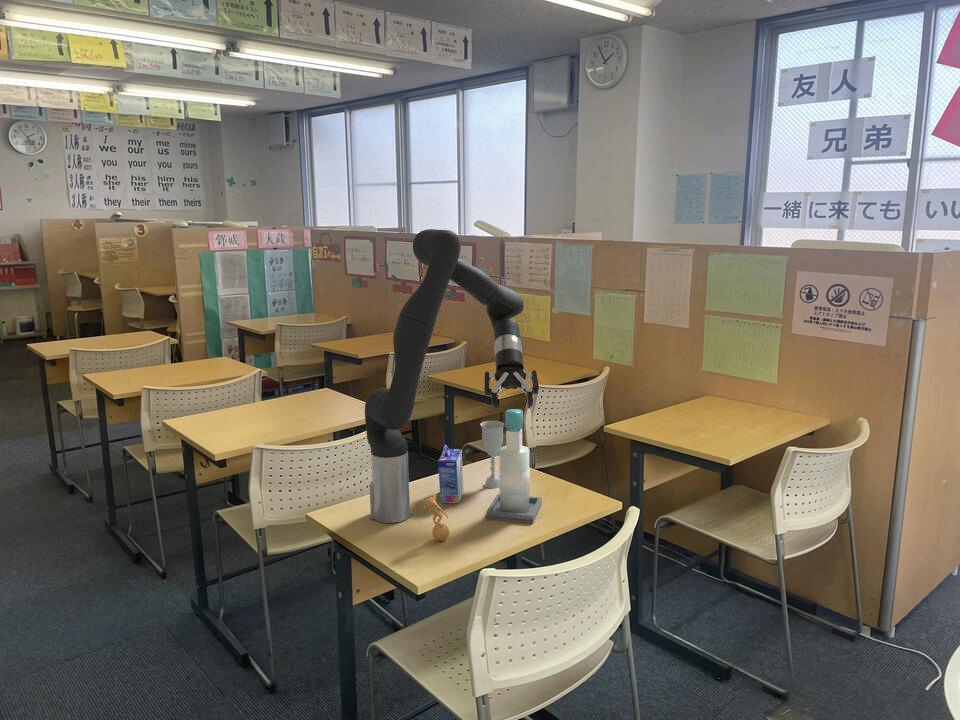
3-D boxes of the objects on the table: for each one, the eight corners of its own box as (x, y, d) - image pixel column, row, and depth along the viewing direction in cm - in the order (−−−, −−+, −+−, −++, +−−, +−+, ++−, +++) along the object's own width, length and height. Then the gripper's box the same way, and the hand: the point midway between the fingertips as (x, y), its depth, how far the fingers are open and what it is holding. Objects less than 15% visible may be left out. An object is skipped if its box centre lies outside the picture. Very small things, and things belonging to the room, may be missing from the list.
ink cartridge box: (444, 489, 196) (443, 440, 194) (463, 490, 196) (462, 440, 193) (438, 503, 187) (437, 451, 184) (459, 504, 186) (458, 452, 183)
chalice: (478, 481, 202) (477, 421, 199) (501, 479, 204) (500, 419, 200) (484, 490, 195) (483, 428, 192) (508, 488, 197) (507, 426, 193)
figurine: (459, 542, 164) (457, 494, 161) (440, 551, 160) (438, 501, 157) (435, 532, 169) (434, 485, 167) (416, 540, 165) (414, 492, 163)
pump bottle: (486, 518, 177) (485, 435, 172) (497, 500, 188) (496, 422, 184) (533, 523, 174) (533, 438, 169) (541, 504, 185) (541, 424, 181)
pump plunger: (503, 450, 176) (503, 413, 174) (507, 445, 180) (507, 408, 178) (521, 451, 175) (520, 414, 173) (524, 446, 179) (524, 409, 177)
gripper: (482, 348, 186) (485, 400, 177) (536, 346, 186) (541, 399, 177) (482, 363, 192) (485, 415, 183) (533, 362, 192) (539, 413, 183)
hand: (512, 407), depth 180 cm, fingers open, 8 cm apart
